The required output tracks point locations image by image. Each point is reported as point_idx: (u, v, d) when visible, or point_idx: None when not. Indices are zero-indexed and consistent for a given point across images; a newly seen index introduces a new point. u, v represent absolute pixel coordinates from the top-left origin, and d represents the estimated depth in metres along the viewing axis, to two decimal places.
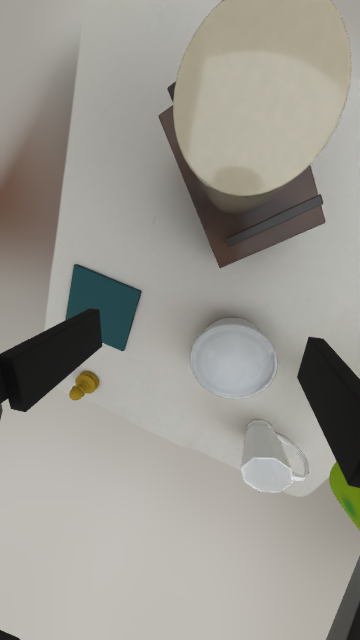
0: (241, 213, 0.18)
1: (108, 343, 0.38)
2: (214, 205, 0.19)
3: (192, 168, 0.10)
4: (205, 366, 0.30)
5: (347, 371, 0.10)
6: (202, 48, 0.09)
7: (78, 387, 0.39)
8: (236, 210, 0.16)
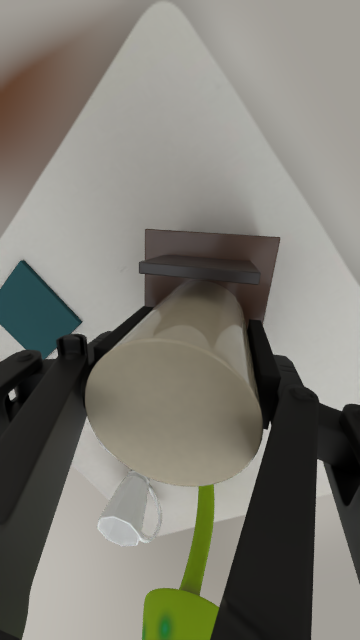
0: None
1: (27, 349, 0.35)
2: None
3: (90, 423, 0.09)
4: None
5: (264, 342, 0.12)
6: (135, 357, 0.07)
7: None
8: None
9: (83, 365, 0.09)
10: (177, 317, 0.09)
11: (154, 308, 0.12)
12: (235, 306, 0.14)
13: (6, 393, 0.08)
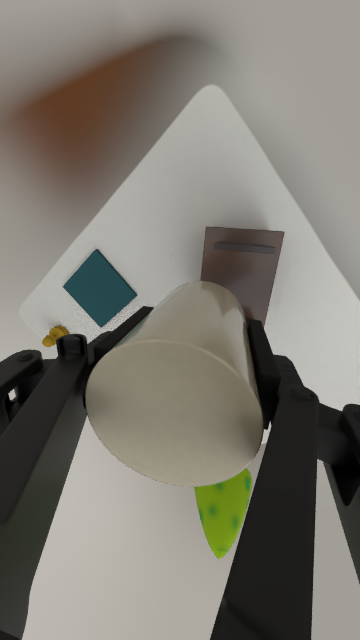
0: None
1: (92, 316, 0.46)
2: None
3: (91, 424, 0.09)
4: None
5: (264, 342, 0.12)
6: (136, 358, 0.07)
7: (52, 337, 0.46)
8: None
9: (83, 365, 0.09)
10: (177, 317, 0.09)
11: (154, 308, 0.12)
12: (235, 306, 0.14)
13: (6, 393, 0.08)
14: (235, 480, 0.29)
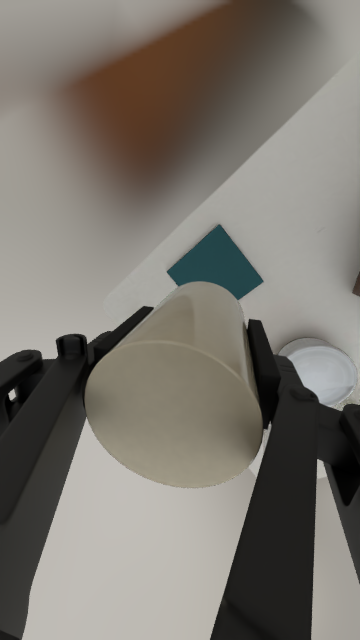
0: None
1: None
2: None
3: (90, 425, 0.09)
4: None
5: (264, 342, 0.12)
6: (135, 359, 0.07)
7: None
8: None
9: (83, 365, 0.09)
10: (177, 318, 0.09)
11: (154, 309, 0.12)
12: (235, 307, 0.14)
13: (6, 392, 0.08)
14: None
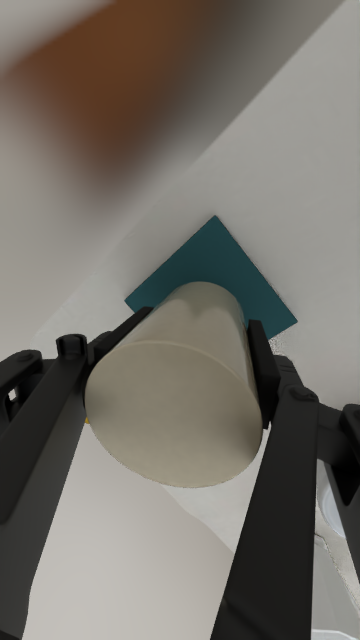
0: None
1: None
2: None
3: (90, 425, 0.09)
4: None
5: (264, 342, 0.12)
6: (135, 359, 0.07)
7: None
8: None
9: (83, 365, 0.09)
10: (177, 318, 0.09)
11: (154, 309, 0.12)
12: (235, 307, 0.14)
13: (5, 392, 0.08)
14: None
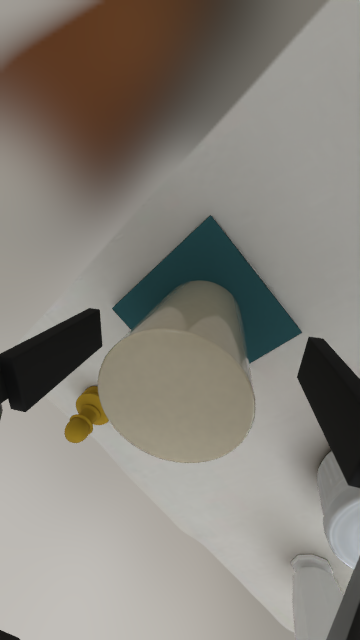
0: None
1: None
2: None
3: (102, 407, 0.10)
4: None
5: (348, 371, 0.10)
6: (144, 346, 0.09)
7: (86, 421, 0.21)
8: None
9: None
10: (180, 311, 0.10)
11: (158, 305, 0.13)
12: (232, 303, 0.15)
13: None
14: None
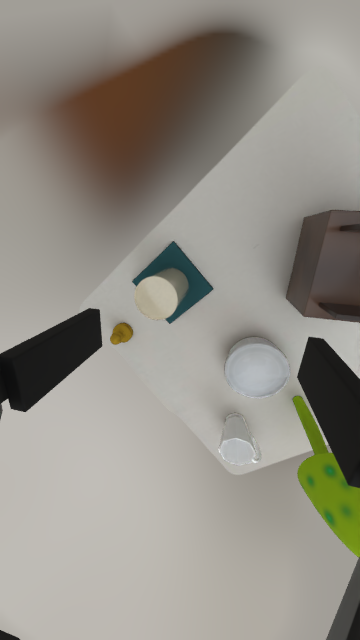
0: None
1: None
2: None
3: (135, 302, 0.34)
4: (237, 366, 0.40)
5: (347, 371, 0.10)
6: (148, 281, 0.32)
7: (120, 335, 0.45)
8: None
9: None
10: (158, 274, 0.34)
11: None
12: (181, 275, 0.39)
13: None
14: None
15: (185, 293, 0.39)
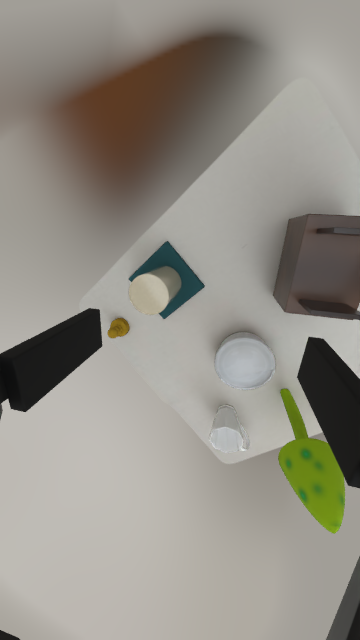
0: None
1: None
2: None
3: None
4: (226, 359, 0.43)
5: (347, 371, 0.10)
6: (141, 278, 0.35)
7: (116, 329, 0.47)
8: None
9: None
10: (151, 272, 0.36)
11: None
12: (173, 273, 0.41)
13: None
14: (332, 461, 0.30)
15: (177, 290, 0.42)
